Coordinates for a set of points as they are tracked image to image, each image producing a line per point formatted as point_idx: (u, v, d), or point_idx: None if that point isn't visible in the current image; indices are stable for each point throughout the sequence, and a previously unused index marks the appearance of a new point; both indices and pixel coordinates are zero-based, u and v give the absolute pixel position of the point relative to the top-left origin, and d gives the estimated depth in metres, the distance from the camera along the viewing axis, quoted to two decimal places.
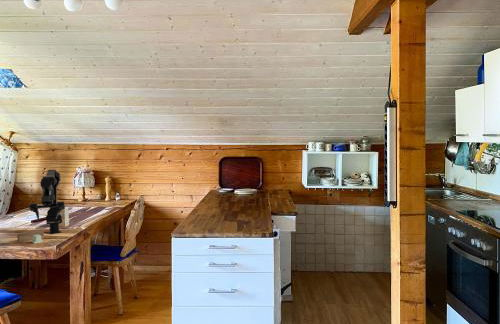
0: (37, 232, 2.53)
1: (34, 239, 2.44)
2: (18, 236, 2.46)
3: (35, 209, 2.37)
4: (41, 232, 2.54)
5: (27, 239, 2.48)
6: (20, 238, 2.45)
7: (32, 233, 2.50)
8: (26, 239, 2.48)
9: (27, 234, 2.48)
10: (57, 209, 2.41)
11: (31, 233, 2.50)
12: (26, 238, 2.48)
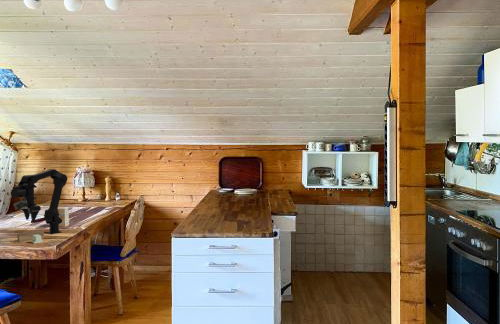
0: (37, 232, 2.52)
1: (34, 239, 2.44)
2: (18, 236, 2.46)
3: (22, 210, 2.53)
4: (41, 232, 2.54)
5: (27, 239, 2.48)
6: (20, 238, 2.46)
7: (32, 233, 2.50)
8: (26, 239, 2.48)
9: (27, 234, 2.48)
10: (30, 213, 2.45)
11: (31, 233, 2.50)
12: (26, 238, 2.48)
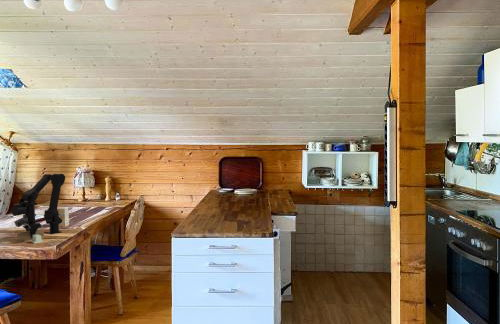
0: (37, 232, 2.52)
1: (34, 239, 2.44)
2: (18, 235, 2.46)
3: None
4: (41, 232, 2.54)
5: (26, 239, 2.48)
6: (19, 238, 2.46)
7: None
8: (25, 239, 2.48)
9: (26, 234, 2.48)
10: (29, 230, 2.48)
11: None
12: (25, 238, 2.48)
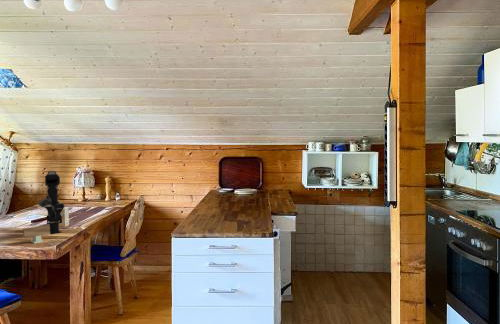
0: (43, 228, 2.46)
1: (34, 239, 2.44)
2: (23, 231, 2.40)
3: None
4: (47, 227, 2.47)
5: (32, 235, 2.42)
6: (25, 233, 2.39)
7: (37, 229, 2.44)
8: (31, 235, 2.41)
9: (32, 229, 2.42)
10: (54, 211, 2.51)
11: (36, 228, 2.43)
12: (31, 233, 2.41)
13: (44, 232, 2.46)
